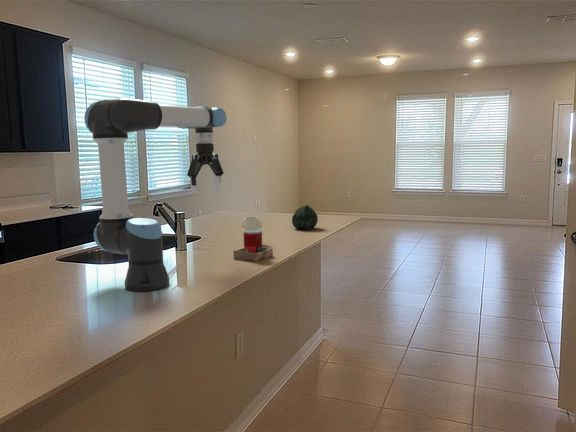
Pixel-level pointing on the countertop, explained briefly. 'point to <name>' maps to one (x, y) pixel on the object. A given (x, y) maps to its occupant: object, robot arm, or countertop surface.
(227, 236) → the countertop surface
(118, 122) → the robot arm
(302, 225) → the squash
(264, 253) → the crate
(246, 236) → the canned food
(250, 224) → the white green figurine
